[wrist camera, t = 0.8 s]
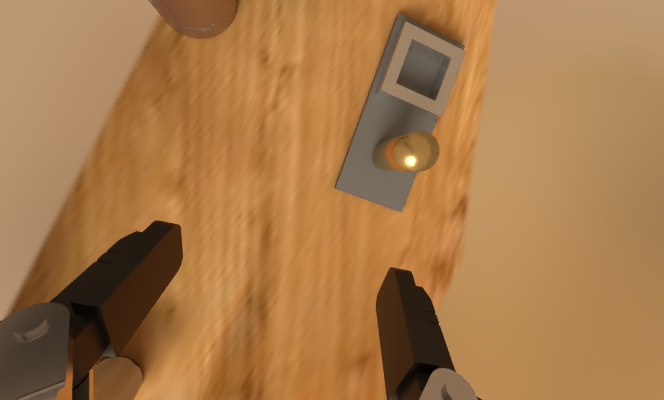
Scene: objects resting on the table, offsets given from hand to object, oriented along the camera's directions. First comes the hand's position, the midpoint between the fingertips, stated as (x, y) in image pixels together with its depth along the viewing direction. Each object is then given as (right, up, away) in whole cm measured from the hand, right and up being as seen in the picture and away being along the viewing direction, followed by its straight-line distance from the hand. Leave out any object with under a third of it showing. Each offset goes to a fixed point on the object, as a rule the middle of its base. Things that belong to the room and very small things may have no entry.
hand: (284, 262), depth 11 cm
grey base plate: (+11, +14, +27) cm, 32 cm away
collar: (+13, +19, +26) cm, 34 cm away
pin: (+9, +8, +26) cm, 29 cm away
